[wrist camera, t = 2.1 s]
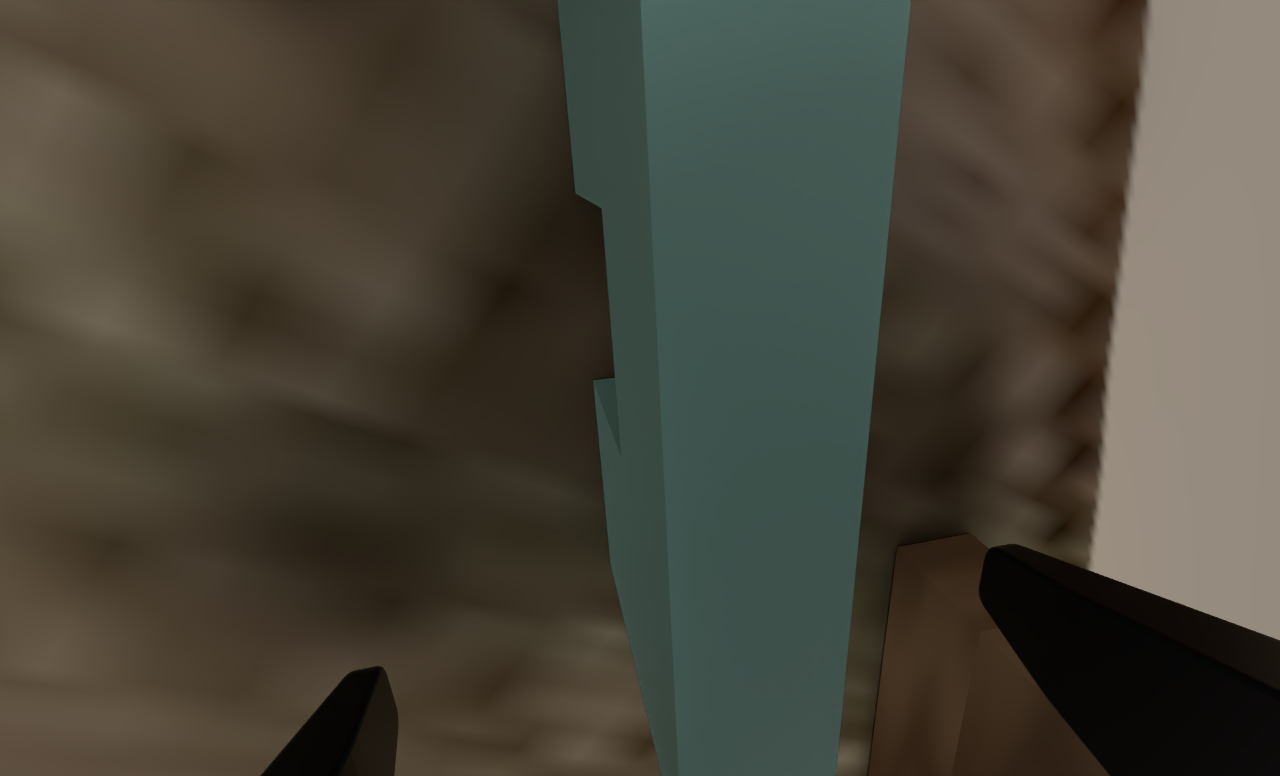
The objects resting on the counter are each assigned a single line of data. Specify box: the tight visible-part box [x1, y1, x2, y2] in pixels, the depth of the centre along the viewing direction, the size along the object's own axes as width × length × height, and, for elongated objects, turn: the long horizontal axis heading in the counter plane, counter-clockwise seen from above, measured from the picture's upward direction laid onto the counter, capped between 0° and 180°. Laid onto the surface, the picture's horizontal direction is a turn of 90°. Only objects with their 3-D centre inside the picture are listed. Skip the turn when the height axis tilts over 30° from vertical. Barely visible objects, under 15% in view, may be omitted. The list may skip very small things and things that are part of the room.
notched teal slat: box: [557, 0, 911, 776], centre depth 8 cm, size 12×2×6 cm, turn 3°
